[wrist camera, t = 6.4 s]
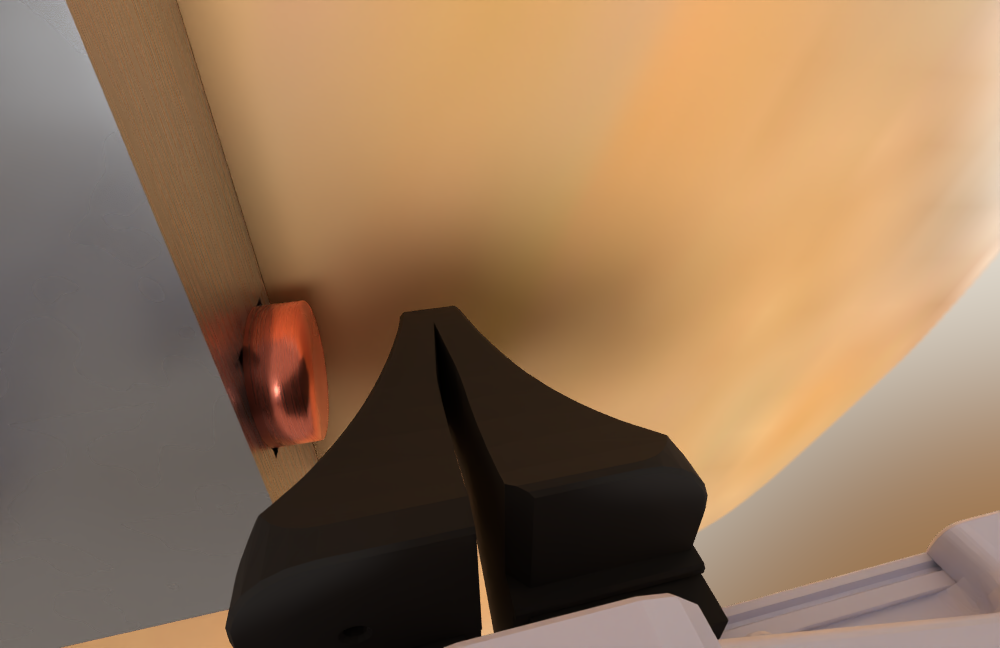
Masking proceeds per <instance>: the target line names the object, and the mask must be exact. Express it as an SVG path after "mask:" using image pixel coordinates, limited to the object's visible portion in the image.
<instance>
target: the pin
mask: <svg viewBox="0 0 1000 648" xmlns="http://www.w3.org/2000/svg"><path fill="white" fill-rule="evenodd" d="M239 361H240V364H241V366H242V369H243V372H244V380H245V387H246V393H247V398H248V403H249V407H250V411H251V414H252V418H253V421H254V424H255V426H256V429H257V431H258V433H259V435H260V437H261V439H262V440H263V442H264V443H265V444H266V445H267V446H268V447H270V448H273V449H274V448H280V447H286V446H291V445H297V444H303V443H309V442H315V441H320V440H323V439H324V438H325V435H326V432H327V427H328V413H329V402H328V384H327V374H326V366H325V359H324V353H323V348H322V343H321V338H320V334H319V330H318V326H317V323H316V320H315V317H314V314H313V312H312V309H311V308H310V306H309V304H308V303H307V302H306V301H304V300H303V301H295V302H286V303H278V304H269V305H261V306H255V307H253V308H252V309H251V310H250V312H249V314H248V316H247V319H246V322H245V327H244V335H243V346H242V349H241V352H240V355H239Z"/></svg>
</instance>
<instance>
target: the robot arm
mask: <svg viewBox="0 0 1000 648" xmlns="http://www.w3.org/2000/svg"><path fill="white" fill-rule="evenodd" d="M455 453H456V454H455ZM457 460H458V461H457ZM458 463H459V464H458ZM459 466H460V467H459ZM460 470H461V471H460ZM461 473H462V474H461ZM462 476H463V477H462ZM463 480H464V481H463ZM464 483H465V484H464ZM706 502H707V492H706V488H705V484H704V483H703V481H702V480H701V478H700V477H699V476H698V474H697V473H696V471H695V470H694V469H693V467H692V466H691V464H690V463H689V461H688V460H687V459H686V458H685V456H684V455H683V454H682V452H681V451H680V450H679V449H678V448H677V447H676V446H675V444H674V443H673V442H672V441H671V440H670V439H669V437H668V436H667V435H664V434H661V433H658V432H655V431H652V430H649V429H645V428H642V427H639V426H636V425H633V424H630V423H626V422H623V421H621V420H618V419H615V418H613V417H610V416H608V415H606V414H603V413H601V412H598V411H596V410H593V409H591V408H589V407H587V406H584V405H582V404H580V403H578V402H576V401H574V400H572V399H570V398H568V397H566V396H564V395H563V394H561V393H559V392H557V391H555V390H553V389H552V388H550V387H548V386H546V385H545V384H543V383H542V382H540V381H538V380H537V379H535V378H534V377H532V376H531V375H529V374H528V373H526V372H525V371H524V370H522V369H521V368H520V367H518V366H517V365H516V364H515V363H513V362H512V361H511V360H510V359H508V358H507V357H506V356H505V355H504V354H502V353H501V352H500V351H499V350H498V349H497V348H496V347H495V346H494V345H492V344H491V343H490V342H489V341H488V340H487V339H486V338H485V337H484V336H483V335H482V334H481V333H480V332H479V331H478V330H477V329H476V328H475V327H474V326H473V325H472V324H471V322H470V321H469V320H468V319H467V318H466V317H465V316H464V314H463V313H462V312H461V311H460V310H459V309H458V308H457V307H456V306H450V307H442V308H434V309H426V310H418V311H411V312H404V313H403V314H402V315H401V316H400V323H399V328H398V332H397V335H396V338H395V341H394V344H393V347H392V349H391V352H390V354H389V357H388V359H387V362H386V364H385V366H384V368H383V370H382V372H381V374H380V376H379V378H378V380H377V382H376V384H375V386H374V388H373V389H372V391H371V393H370V394H369V396H368V398H367V399H366V401H365V403H364V404H363V406H362V407H361V409H360V410H359V412H358V413H357V415H356V416H355V418H354V419H353V420H352V422H351V423H350V424H349V425H348V427H347V428H346V429H345V431H344V432H343V433H342V435H341V436H340V437H339V438H338V440H337V441H336V442H335V443H334V444H333V446H332V447H331V448H330V449H329V450H328V451H327V452H326V453H325V454H324V455H323V457H322V458H321V459H320V460H319V461H318V462H317V463H316V464H315V465H314V466H313V467H312V468H311V469H310V470H309V471H308V473H307V474H306V475H305V476H304V477H303V478H301V479H300V480H299V481H298V482H297V483H296V484H295V485H294V486H293V487H291V488H290V489H289V490H288V491H287V492H286V493H284V494H283V495H282V496H281V497H280V498H279V499H278V500H276V501H275V502H274V503H273V504H272V505H271V506H269V507H268V508H267V509H266V510H264V511H263V512H262V513H261V514H260V515H259V516H258V517H257V519H256V522H255V524H254V526H253V529H252V531H251V534H250V536H249V539H248V541H247V544H246V547H245V550H244V553H243V555H242V558H241V560H240V563H239V567H238V570H237V574H236V578H235V582H234V587H233V593H232V597H231V602H230V607H229V612H228V617H227V622H226V627H225V629H226V632H227V635H228V638H229V641H230V643H231V645H232V646H233V648H1000V510H999V511H995V512H991V513H987V514H984V515H980V516H976V517H972V518H968V519H964V520H961V521H958V522H955V523H953V524H950V525H949V526H947V527H946V528H944V529H942V531H940V532H939V533H938V534H937V535H936V536H935V537H934V539H933V540H932V541H931V543H930V544H929V546H928V547H927V552H924V553H921V554H917V555H913V556H910V557H906V558H902V559H899V560H895V561H891V562H888V563H884V564H880V565H876V566H873V567H869V568H865V569H862V570H858V571H854V572H851V573H847V574H843V575H840V576H836V577H832V578H829V579H825V580H822V581H818V582H814V583H811V584H807V585H803V586H799V587H796V588H792V589H789V590H785V591H781V592H778V593H774V594H770V595H766V596H763V597H759V598H755V599H751V600H748V601H744V602H741V603H737V604H734V605H729V606H726V607H722V608H721V606H720V605H719V603H718V601H717V600H716V598H715V596H714V595H713V593H712V591H711V590H710V588H709V586H708V585H707V583H706V581H705V580H704V578H703V576H702V575H701V573H703V572H704V570H705V566H704V562H703V561H702V559H701V557H700V556H699V554H698V553H697V551H696V549H695V547H694V546H693V543H694V540H695V537H696V534H697V532H698V529H699V526H700V523H701V520H702V517H703V514H704V511H705V508H706ZM477 544H478V549H479V555H480V560H481V565H482V571H483V576H484V581H485V587H486V592H487V597H488V603H489V608H490V614H491V619H492V625H493V630H494V633H492V634H489V635H485V636H481V630H482V623H481V606H480V589H479V573H478V556H477Z"/></svg>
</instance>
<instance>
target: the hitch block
mask: <svg viewBox="0 0 1000 648" xmlns="http://www.w3.org/2000/svg"><path fill="white" fill-rule="evenodd" d="M269 304H270V303H269V300H268V296H267V293H266V290H265V287H264V283H263V280H262V277H261V274H260V271H259V267H258V264H257V261H256V258H255V254H254V251H253V248H252V245H251V241H250V238H249V235H248V232H247V228H246V225H245V222H244V219H243V215H242V212H241V209H240V206H239V202H238V199H237V196H236V193H235V189H234V186H233V183H232V180H231V176H230V173H229V170H228V167H227V163H226V160H225V157H224V154H223V151H222V147H221V144H220V141H219V138H218V134H217V131H216V128H215V125H214V121H213V118H212V115H211V112H210V108H209V105H208V102H207V99H206V95H205V92H204V89H203V86H202V82H201V79H200V76H199V73H198V69H197V66H196V63H195V60H194V56H193V53H192V50H191V47H190V43H189V40H188V37H187V34H186V31H185V27H184V24H183V21H182V18H181V14H180V11H179V8H178V5H177V1H176V0H0V648H61V647H65V646H70V645H74V644H79V643H83V642H87V641H92V640H96V639H101V638H105V637H109V636H114V635H118V634H123V633H127V632H131V631H136V630H140V629H145V628H149V627H153V626H158V625H162V624H167V623H171V622H175V621H180V620H184V619H189V618H193V617H197V616H202V615H206V614H211V613H215V612H219V611H224V610H228V609H229V607H230V602H231V597H232V593H233V587H234V582H235V578H236V574H237V570H238V567H239V563H240V560H241V558H242V555H243V553H244V550H245V547H246V544H247V541H248V539H249V536H250V534H251V531H252V529H253V526H254V524H255V522H256V519H257V517H258V516H259V515H260V514H261V513H262V512H263V511H264V510H266V509H267V508H268V507H269V506H271V505H272V504H273V503H274V502H275V501H276V500H278V499H279V498H280V497H281V496H282V495H283V494H284V493H286V492H287V491H288V490H289V489H290V488H291V487H293V486H294V485H295V484H296V483H297V482H298V481H299V480H300V479H301V478H303V477H304V476H305V475H306V474H307V473H308V471H309V470H310V469H311V468H312V467H313V466H314V465H315V464H316V463H317V462H318V459H317V455H316V452H315V449H314V446H313V442H309V443H303V444H297V445H291V446H286V447H280V448H274V449H273V448H270V447H268V446H267V445H266V444H265V443H264V442H263V440H262V439H261V437H260V435H259V433H258V431H257V429H256V426H255V424H254V421H253V418H252V414H251V411H250V407H249V403H248V398H247V393H246V387H245V380H244V372H243V369H242V366H241V364H240V361H239V355H240V352H241V349H242V346H243V335H244V327H245V322H246V319H247V316H248V314H249V312H250V310H251V309H252V308H253V307H255V306H261V305H269Z"/></svg>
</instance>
